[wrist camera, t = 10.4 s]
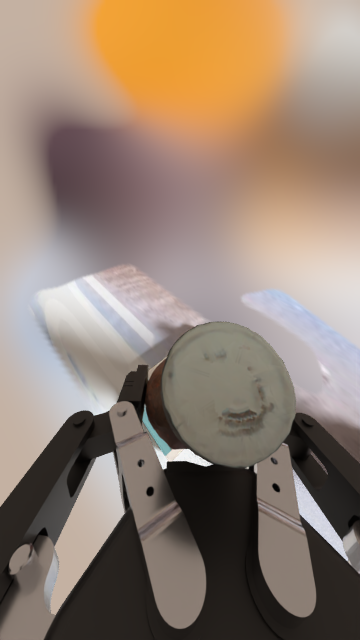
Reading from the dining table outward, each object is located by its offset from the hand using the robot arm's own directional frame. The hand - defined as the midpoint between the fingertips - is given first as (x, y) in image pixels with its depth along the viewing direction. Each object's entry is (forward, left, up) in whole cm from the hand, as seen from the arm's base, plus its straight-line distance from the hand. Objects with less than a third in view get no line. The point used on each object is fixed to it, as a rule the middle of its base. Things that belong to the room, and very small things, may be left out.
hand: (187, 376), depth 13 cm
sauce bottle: (+1, +1, -11) cm, 11 cm away
